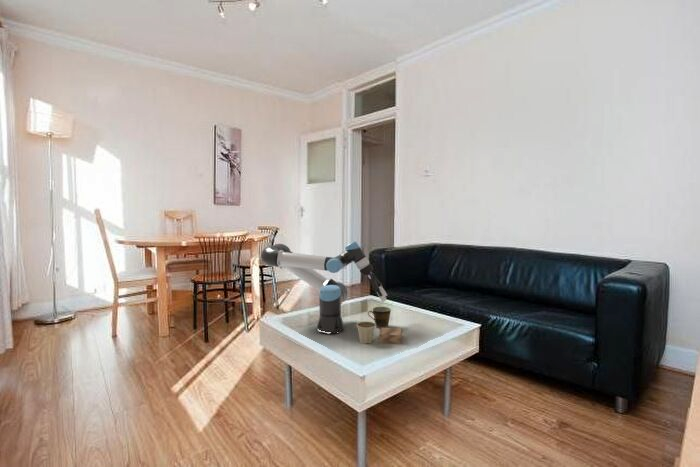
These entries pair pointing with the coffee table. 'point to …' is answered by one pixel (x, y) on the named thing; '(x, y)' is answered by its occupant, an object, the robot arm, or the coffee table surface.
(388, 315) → the ceramic cup
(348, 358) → the coffee table surface
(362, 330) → the flower pot
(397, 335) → the stand
